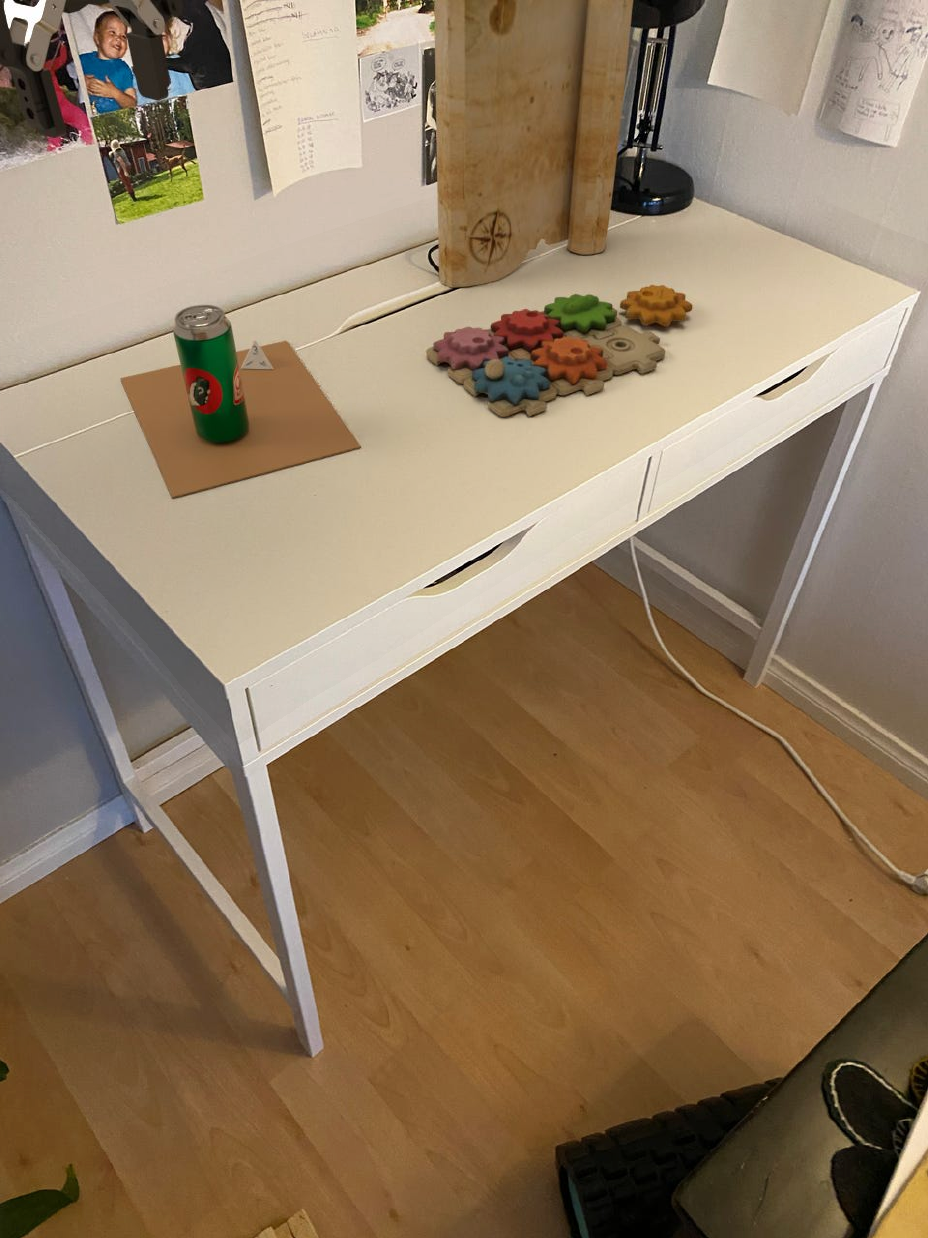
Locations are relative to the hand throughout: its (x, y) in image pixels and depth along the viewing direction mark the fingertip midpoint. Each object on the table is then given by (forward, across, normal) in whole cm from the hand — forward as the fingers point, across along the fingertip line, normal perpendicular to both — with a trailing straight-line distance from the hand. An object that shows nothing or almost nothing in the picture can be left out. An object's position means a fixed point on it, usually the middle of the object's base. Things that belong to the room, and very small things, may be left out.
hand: (104, 115), depth 62 cm
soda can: (+32, -9, -6) cm, 34 cm away
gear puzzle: (+32, -43, +15) cm, 55 cm away
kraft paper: (+32, -13, -8) cm, 35 cm away
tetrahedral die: (+32, -20, -11) cm, 39 cm away
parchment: (+32, -57, -2) cm, 66 cm away
